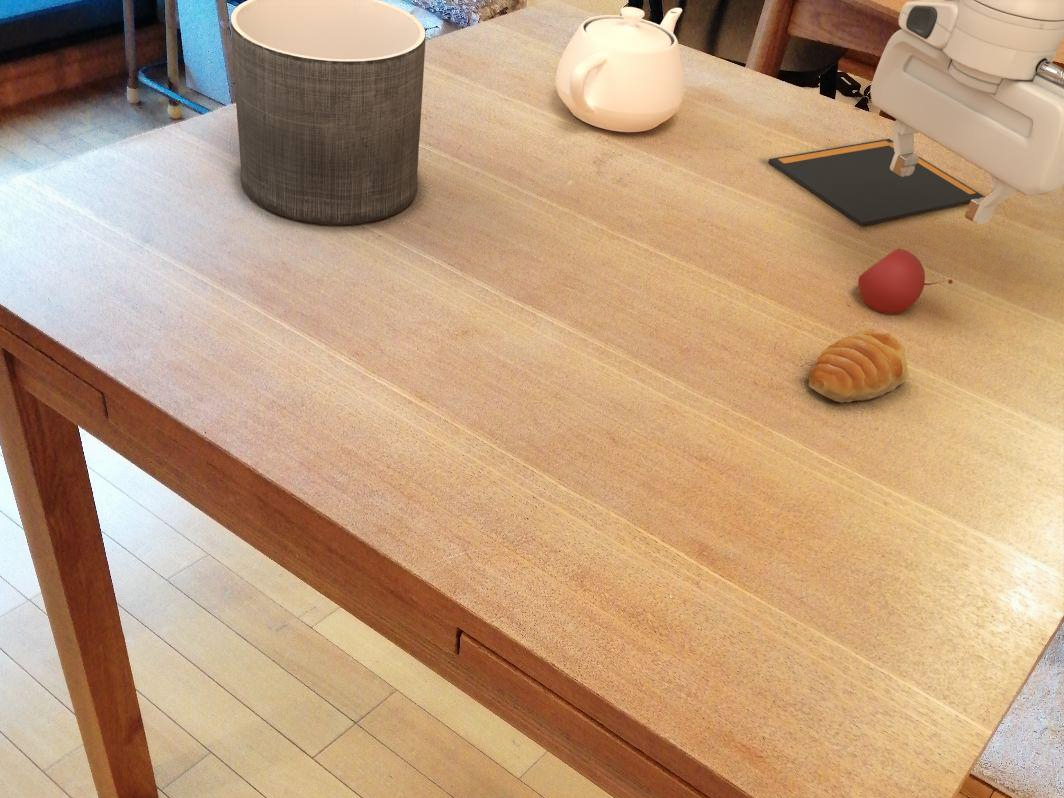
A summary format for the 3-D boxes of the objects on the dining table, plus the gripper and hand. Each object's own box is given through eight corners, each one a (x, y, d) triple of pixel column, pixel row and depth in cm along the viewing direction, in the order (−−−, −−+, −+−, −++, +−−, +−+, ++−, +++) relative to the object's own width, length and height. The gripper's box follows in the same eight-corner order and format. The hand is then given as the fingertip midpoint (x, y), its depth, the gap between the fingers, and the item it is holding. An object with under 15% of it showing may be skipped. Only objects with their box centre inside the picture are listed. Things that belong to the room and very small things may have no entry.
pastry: (847, 420, 92) (862, 383, 90) (785, 380, 96) (798, 343, 93) (909, 385, 97) (924, 349, 95) (848, 348, 101) (861, 313, 98)
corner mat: (887, 142, 137) (889, 138, 137) (983, 200, 128) (985, 196, 127) (767, 162, 128) (769, 158, 128) (861, 226, 119) (863, 222, 119)
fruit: (874, 337, 106) (938, 292, 100) (840, 289, 107) (901, 242, 100) (904, 316, 110) (967, 272, 104) (871, 270, 110) (931, 223, 104)
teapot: (623, 165, 123) (644, 54, 115) (509, 121, 128) (521, 12, 120) (717, 104, 139) (741, 3, 131) (613, 67, 144) (630, -32, 136)
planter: (323, 131, 120) (322, -22, 110) (451, 187, 114) (463, 31, 103) (202, 180, 109) (188, 15, 98) (338, 246, 103) (338, 77, 92)
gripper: (1130, 85, 85) (1049, 246, 94) (939, -6, 97) (884, 144, 106) (1079, 93, 82) (1001, 257, 91) (889, -3, 94) (837, 152, 103)
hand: (936, 196), depth 99 cm, fingers open, 8 cm apart
